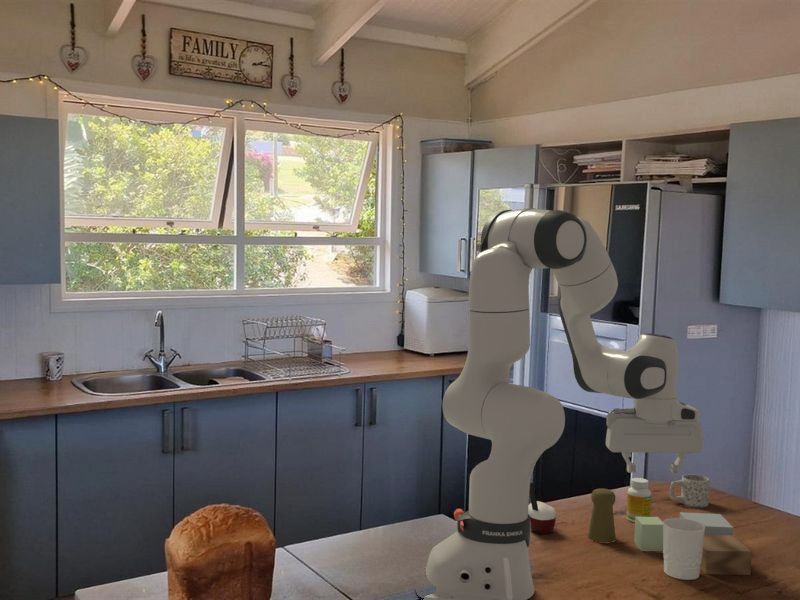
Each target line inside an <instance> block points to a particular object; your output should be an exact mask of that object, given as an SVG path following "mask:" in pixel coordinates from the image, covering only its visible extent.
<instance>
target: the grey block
mask: <svg viewBox="0 0 800 600" xmlns="http://www.w3.org/2000/svg"><path fill="white" fill-rule="evenodd" d="M679 518H684V519H690V520H694V521H697V522H699V523H701V524H703V525H704V526H705V533H704V535H729V536H734V527H733V526H732V525H731V523H730V522H729V521H728V520H727V519H726V518H725V517H724V516H723V515H722V514H720V513H704V512H703V513H702V512H701V513H700V512H684V511H683V512H682V511H679Z"/></svg>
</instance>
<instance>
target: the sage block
mask: <svg viewBox="0 0 800 600" xmlns="http://www.w3.org/2000/svg"><path fill="white" fill-rule="evenodd" d="M633 540H634V542H635V544H636V545H637V546H638V547H639V549H640V550H641V551H663V520H661V519H660V517H659V516H650V517H635V523H634V539H633ZM634 542H633V543H634ZM635 544H634V545H635ZM636 545H635V546H636ZM637 546H636V547H637ZM638 547H637V548H638ZM639 549H638V550H639ZM640 550H639V551H640ZM641 551H640V552H641Z"/></svg>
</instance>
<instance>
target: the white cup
mask: <svg viewBox="0 0 800 600" xmlns="http://www.w3.org/2000/svg"><path fill="white" fill-rule="evenodd" d="M662 522H663V552H662V554H663V572H664V573H665V575H667V576H670V577H671V578H673V579H677V580H683V581H691V580H697V579H698V578H699V577H700V573H701V569H700V564H701V559H702V553H703V543H704V533H705V526H704V525H703V524H701V523H699V522H697V521H694V520H690V519H684V518H680V517H672V518H666V519H664V520H662Z"/></svg>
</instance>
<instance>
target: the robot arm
mask: <svg viewBox="0 0 800 600" xmlns="http://www.w3.org/2000/svg"><path fill="white" fill-rule="evenodd" d="M479 249H480V252H479V253H478V254H477V255H476V256H475V257H474V259H473V261H472V264H471V271H470V276H469V286H468V287H469V288H468V348H467V349H468V351H467V356H466V360H465V363H464V366H463V369H462V371H461V372H460V374H459V376H458V377H457V378H456V379H455V380H454V381H452V382H451V383H450V385H449V386H448V387H447V389H446V390H445V393H444V394H443V398H442V413H443V417H444V419H445V420H446V422H447V423H448V424H450V425H451V426H452V427H454V428H455V429H457V430H459V431H461V432H463V433H465V434H467V435H471V436H474V437H478V438H482V439H486V440H490V441H491V449H490V450H491V451H490V454H489V456H488V458H487V459H486V460H484V461H481V462H480V463H478V464H477V465H475V467H474V468H472V470H471V473H470V474H469V484H468V485H469V489H468V490H469V491H468V493H469V494H468V510H467V511H464V510H463V509H462V508H456V509H455V510H454V512H453V516H454V520H455V521H456V522H457V524H456V525H457V526H456V527H457V528H456V529H457V530H456V531H455V532H454V533H452V534H451V535H450V536H448V537H447V538H445V539H443V540H442V541H440V542H439V543H437V544H436V545H434V546H433V548H432V549H431V551H430V552H429V555H428V559H427V561H426V562H427V563H426V567H425V568H426V575H427V578H428V580H429V581H430V582H431V583H432V584H433V585H435V586H436V592H435V593H433V594H430V595H427V596H425V597H424V599H423V600H528V599H530V598H532V596H533V595H534V594H535V585H534V582H533V578H532V573H531V564H530V558H529V547H530V543H531V542H530V541H531V535H532V534H531V533H532V532H531V530H532V529H531V522H530V517H529V514H528V505H529V504H530V503H529V502H530V501H529V500H530V494H529V489H530V482H531V479H532V474H533V471H534V469H535V466H536V463H537V461H538V460H539V459H540V457H541V455H542V454H543V453H544V452H545V451H546V450H548V449H550V448H551V447H553V446H554V445H556V443H557V442H558V441H559V439H560V438H561V437H562V435H563V432H564V429H565V424H566V414H565V410H564V407H563V405H562V402H561V401H560V400H559V399H558V398H557V397H555V396H554V395H551V394H550V393H548V392H545V391H543V390H540V389H538V388H535V387H532V386H531V387H530V386H525V385H520V384H514V383H510V372H511V369H512V366H513V364H514V363H516V362H518V361H520V360H522V359H523V358H524V357H526V355H527V353H528V352H529V350H530V345H531V325H530V324H531V323H530V319H531V318H530V315H531V314H530V313H531V312H530V295H529V285H528V282H529V277H530V275H531V272H532V271H533V269H534V270H536V269H540V270H541V269H552V272H553V275H554V277H555V279H556V282H557V283H558V286H559V287H558V288H559V290H560V294H559V297H558V301H557V303H558V305H557V306H558V311H559V317H560V319H561V323H562V327H563V330H564V333H565V336H566V340H567V343H568V346H569V349H570V353H571V358H572V365H573V367H572V368H573V375H574V378H575V380H576V383H577V384H578V386H579V387H580V389H582V390H583V391H585V392H588V393H597V394H606V395H610V396H615V397H618V398H619V397H622V398H626V399H631V400H633V408H613V409H612V410H610V411H609V412H608V413H607V415H606V417H605V418H606V420H605V421H606V422H605V423H606V427H607V429H606V436H605V446H606V448H607V449H608V450H609V451H610V452H612V453H621V455H622V457H623V459H624V461H625V463H626V472H627V473H631V474H633V473H636V472H637V470H636V469H637V465H636V463H635V462H631V460H630V458H631V457H632V453H644V454H645V453H650V454H651V453H652V454H653V453H655V454H663V453H665V454H675V456H676V459H675V460H674V463H673V462H672V463H670V467H669V468H670V469H669V470H670V473H672V474H680V471H681V465H682V464H683V462H684V461H685V460H686V458H687V457H686V456H687V454H700V453H701V452H702V451H703V449H704V429H703V426H702V424H701V422H700V421H699V420H700V418H701V412H700V411H699V410H698V409H697V408H695V407H693V406H691V405H689V404H686V403H684V402H681V401H678V391H677V381H678V378H679V348H678V345H677V342H676V340H675V339H674V338H673V337H671V336H667V335H665V334H656V333H648V332H647V333H646V332H644V333H641V334H640V335H639V337H638V341H637V343H635V344H634V345H633V346H632V347H630V348H628V349H626V350H622V349H621V350H619V349H613V348H609V347H606V346H604V345H603V344H601V343H600V342H599V341H598V340H597V336H596V333H595V329H594V325H593V321H592V319H591V318H592V317H591V315H593V314H595V313H598V312H599V311H601V310H602V309H604V308H605V307H606V306H608V304H609V303H610V302H611V301H612V300H613V299H614V297H615V296H616V293H617V291H618V286H619V283H618V281H619V280H618V276H617V272H616V269H615V267H614V265H613V262H612V260H611V258H610V255H609V252H607V251H608V250H607V249H606V246H605V244H604V242H603V241H602V239H601V238H600V236H599V234H598V233H597V232H596V230H595V228H594V227H593V226H592V224H591V223H590V221H588V220H587V219H585V218H584V217H583V218H582V217H580V216H576V215H574V214H573V213H571V212H568V211H565V210H561V209H553V210H549V209H540V208H539V209H538V208H532V207H529V208H527V207H526V208H518V209H506V210H505V209H504V210H501V211H498V212H496V213H494V214H492V215H491V216H489V217H488V218H487V220H486V221H485V223H484V225H483V228H482V231H481V237H480V247H479Z"/></svg>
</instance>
